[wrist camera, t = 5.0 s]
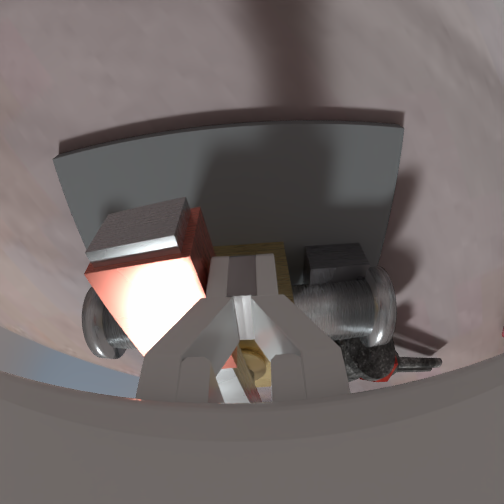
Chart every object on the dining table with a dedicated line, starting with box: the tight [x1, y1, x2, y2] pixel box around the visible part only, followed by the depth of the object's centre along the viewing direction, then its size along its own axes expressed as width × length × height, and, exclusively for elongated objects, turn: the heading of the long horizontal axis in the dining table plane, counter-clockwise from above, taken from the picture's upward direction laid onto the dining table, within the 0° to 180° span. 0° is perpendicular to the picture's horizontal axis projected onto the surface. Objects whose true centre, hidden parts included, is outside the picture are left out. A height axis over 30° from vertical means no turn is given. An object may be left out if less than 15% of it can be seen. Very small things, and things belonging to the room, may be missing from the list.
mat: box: [53, 120, 404, 285], centre depth 21 cm, size 22×19×1 cm
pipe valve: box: [82, 242, 397, 387], centre depth 19 cm, size 20×7×8 cm, turn 93°
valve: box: [333, 337, 442, 382], centre depth 30 cm, size 6×26×15 cm
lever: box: [84, 197, 262, 403], centre depth 12 cm, size 14×3×3 cm, turn 10°
